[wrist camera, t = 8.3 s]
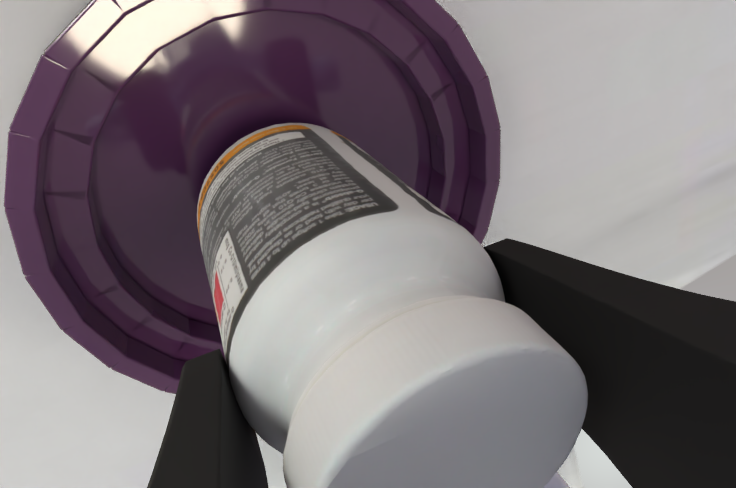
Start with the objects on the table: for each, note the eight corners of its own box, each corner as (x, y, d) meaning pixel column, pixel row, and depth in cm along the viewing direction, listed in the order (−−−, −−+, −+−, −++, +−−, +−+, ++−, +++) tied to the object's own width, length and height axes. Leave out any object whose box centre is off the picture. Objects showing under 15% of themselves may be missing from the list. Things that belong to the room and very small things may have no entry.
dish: (465, 280, 21) (499, 312, 19) (151, 405, 18) (151, 461, 16) (449, -93, 14) (503, -107, 12) (-104, -2, 10) (-170, 2, 8)
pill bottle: (199, 293, 15) (255, 662, 7) (190, 111, 12) (264, 359, 4) (363, 276, 17) (551, 537, 9) (384, 119, 14) (674, 289, 6)
